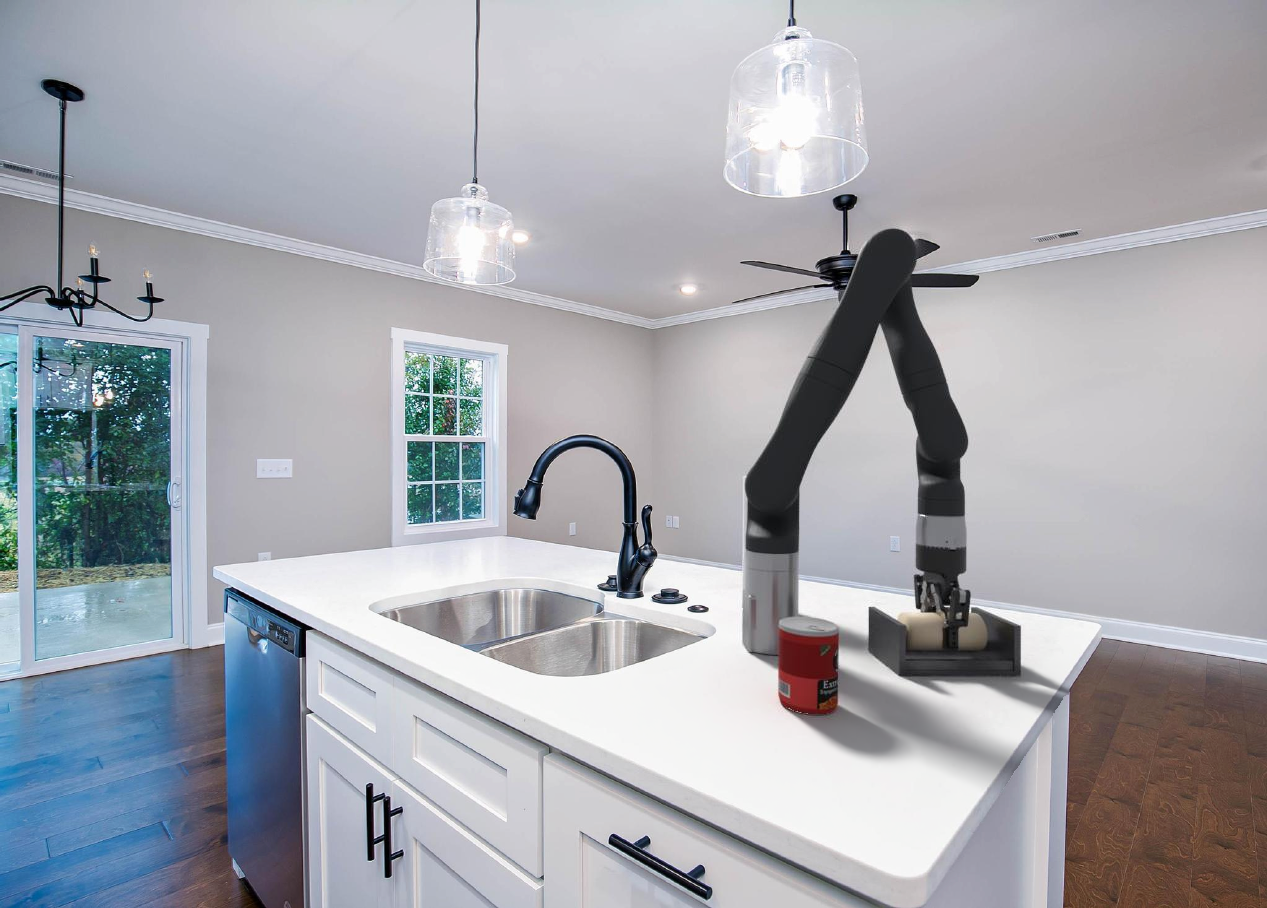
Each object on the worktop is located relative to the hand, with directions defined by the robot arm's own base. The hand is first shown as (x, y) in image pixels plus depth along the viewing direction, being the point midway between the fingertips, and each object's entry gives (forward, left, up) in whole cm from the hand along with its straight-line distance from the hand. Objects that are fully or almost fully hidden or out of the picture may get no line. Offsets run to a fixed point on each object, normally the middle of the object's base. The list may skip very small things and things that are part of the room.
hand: (940, 644), depth 101 cm
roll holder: (0, 0, -3) cm, 3 cm away
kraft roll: (0, 0, -1) cm, 1 cm away
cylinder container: (-21, +36, -3) cm, 42 cm away
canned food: (-27, -17, -3) cm, 32 cm away
